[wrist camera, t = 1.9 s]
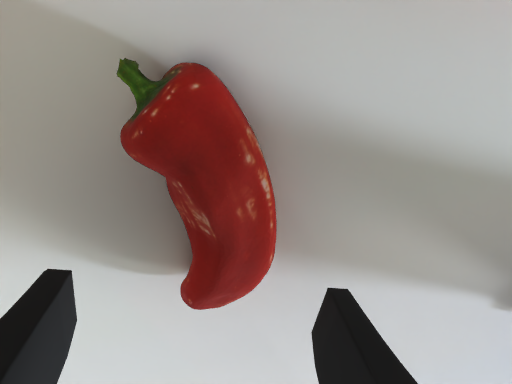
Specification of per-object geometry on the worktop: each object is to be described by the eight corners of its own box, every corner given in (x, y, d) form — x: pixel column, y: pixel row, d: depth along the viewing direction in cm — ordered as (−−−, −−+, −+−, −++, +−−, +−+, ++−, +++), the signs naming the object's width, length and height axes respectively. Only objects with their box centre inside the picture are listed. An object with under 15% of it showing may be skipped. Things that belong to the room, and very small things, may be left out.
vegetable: (30, 100, 12) (175, 323, 20) (203, 92, 10) (285, 342, 18) (112, 30, 15) (208, 248, 23) (256, 14, 13) (306, 257, 21)
